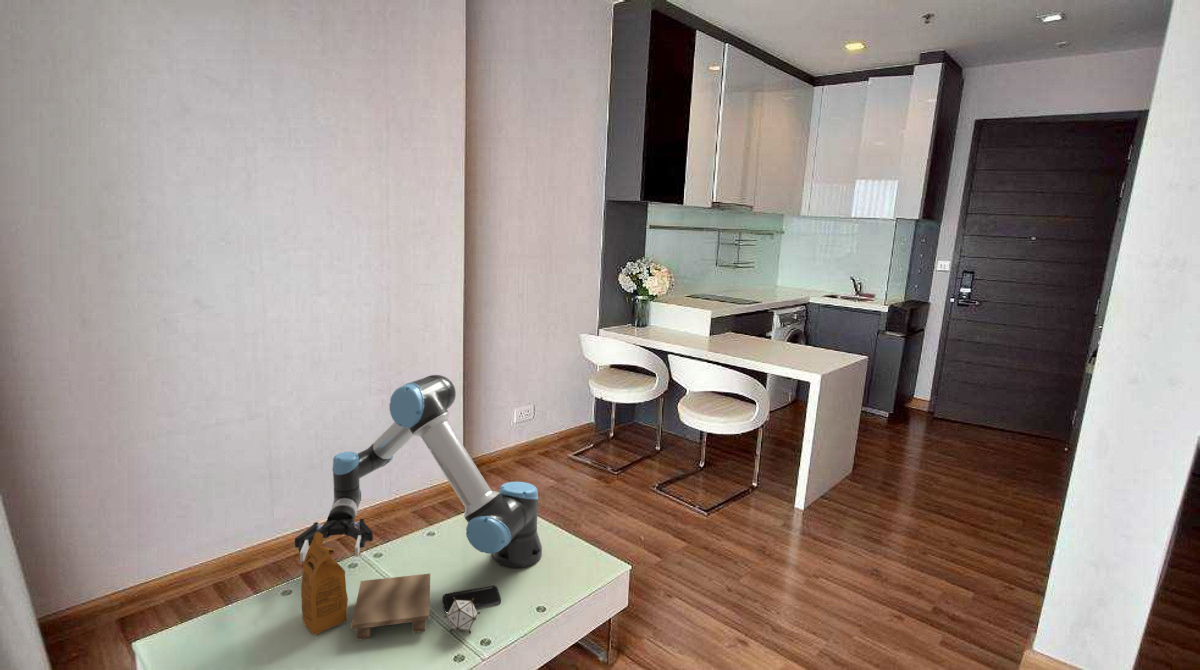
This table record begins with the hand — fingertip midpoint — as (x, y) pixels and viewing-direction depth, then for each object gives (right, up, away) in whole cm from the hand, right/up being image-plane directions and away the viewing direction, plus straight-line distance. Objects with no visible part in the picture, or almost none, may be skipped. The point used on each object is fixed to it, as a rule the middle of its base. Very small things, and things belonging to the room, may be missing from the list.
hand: (329, 554), depth 156 cm
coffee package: (+2, -14, -7) cm, 16 cm away
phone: (+38, -14, +3) cm, 40 cm away
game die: (+38, -16, -8) cm, 42 cm away
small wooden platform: (+19, -14, -4) cm, 24 cm away
